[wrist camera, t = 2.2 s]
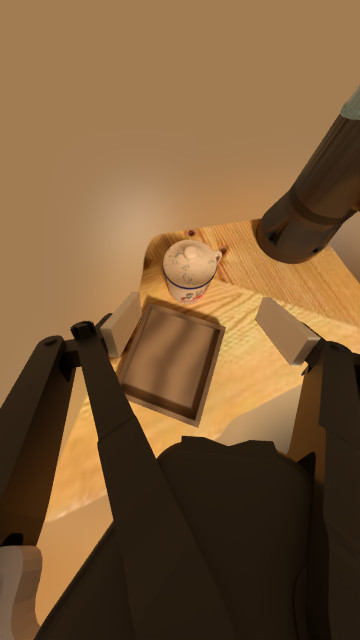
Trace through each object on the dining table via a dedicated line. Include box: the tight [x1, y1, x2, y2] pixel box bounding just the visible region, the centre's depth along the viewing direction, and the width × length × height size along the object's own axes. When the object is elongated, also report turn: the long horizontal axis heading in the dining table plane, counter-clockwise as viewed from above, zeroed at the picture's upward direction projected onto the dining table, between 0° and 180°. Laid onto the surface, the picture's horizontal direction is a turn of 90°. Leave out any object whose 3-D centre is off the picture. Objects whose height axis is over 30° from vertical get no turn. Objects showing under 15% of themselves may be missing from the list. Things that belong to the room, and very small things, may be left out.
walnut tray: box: [118, 302, 226, 428], centre depth 27 cm, size 16×18×2 cm
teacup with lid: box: [163, 239, 222, 304], centre depth 27 cm, size 12×9×12 cm
